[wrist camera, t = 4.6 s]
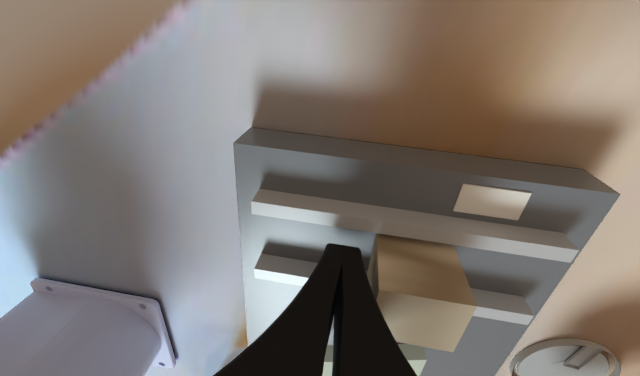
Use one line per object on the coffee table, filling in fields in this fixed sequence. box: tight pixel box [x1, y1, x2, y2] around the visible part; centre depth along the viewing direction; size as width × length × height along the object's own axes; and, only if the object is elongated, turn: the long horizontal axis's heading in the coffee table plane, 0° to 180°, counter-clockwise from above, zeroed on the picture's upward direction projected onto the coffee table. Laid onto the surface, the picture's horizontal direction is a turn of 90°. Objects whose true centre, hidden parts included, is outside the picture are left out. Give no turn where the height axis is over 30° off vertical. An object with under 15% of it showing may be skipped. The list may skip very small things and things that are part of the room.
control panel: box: [233, 127, 620, 376], centre depth 16 cm, size 14×20×4 cm
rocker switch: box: [322, 344, 427, 376], centre depth 15 cm, size 5×3×1 cm, turn 85°
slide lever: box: [367, 233, 477, 352], centre depth 11 cm, size 3×2×3 cm
